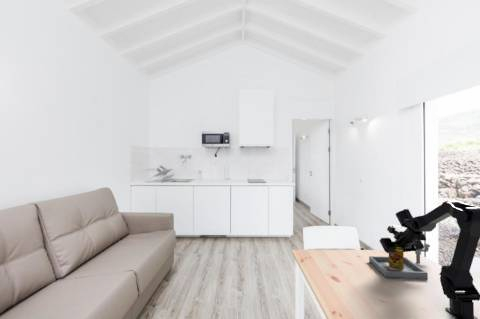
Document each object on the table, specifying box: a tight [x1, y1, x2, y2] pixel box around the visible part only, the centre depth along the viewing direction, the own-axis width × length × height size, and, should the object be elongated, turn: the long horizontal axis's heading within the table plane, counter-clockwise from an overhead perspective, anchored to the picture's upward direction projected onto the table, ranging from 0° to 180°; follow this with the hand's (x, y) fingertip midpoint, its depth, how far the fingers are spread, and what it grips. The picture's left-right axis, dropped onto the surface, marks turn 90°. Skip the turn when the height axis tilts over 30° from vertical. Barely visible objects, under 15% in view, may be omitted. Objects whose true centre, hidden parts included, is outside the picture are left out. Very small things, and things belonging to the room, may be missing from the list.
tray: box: [368, 255, 429, 280], centre depth 121 cm, size 18×18×3 cm
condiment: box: [385, 240, 408, 271], centre depth 120 cm, size 7×8×12 cm
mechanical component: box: [414, 243, 430, 264], centre depth 129 cm, size 3×10×10 cm, turn 78°
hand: (392, 252), depth 121 cm, fingers closed on condiment, 6 cm apart
